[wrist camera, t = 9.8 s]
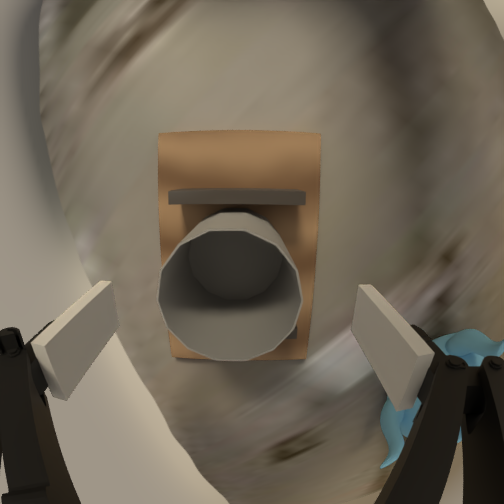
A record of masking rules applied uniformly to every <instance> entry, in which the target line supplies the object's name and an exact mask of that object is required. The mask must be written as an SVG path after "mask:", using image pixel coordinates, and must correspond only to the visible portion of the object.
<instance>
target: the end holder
mask: <svg viewBox="0 0 504 504" xmlns="http://www.w3.org/2000/svg"><path fill="white" fill-rule="evenodd" d="M320 149H321V134H318V133H305V132H288V131H261V130H216V131H188V132H171V133H159V141H158V197H159V227H160V246H161V261H162V266H163V265H164V263H165V262H166V260H167V259H168V258H169V256H170V255H171V253H172V252H173V251H174V249H175V248H176V246H177V245H178V244H179V243H180V242H181V241H182V240H183V239H184V238H185V237H186V236H187V235H188V234H189V233H190V232H191V231H192V230H193V229H194V228H195V227H196V226H197V225H198V224H199V223H200V222H201V221H202V220H203V219H204V218H205V217H207V216H209V215H211V214H213V213H215V212H217V211H219V210H221V209H223V208H248V209H250V210H252V211H254V212H256V213H258V214H260V215H262V216H264V217H266V218H267V219H268V220H269V222H270V223H271V224H272V226H273V227H274V228H275V229H276V231H277V232H278V233H279V235H280V236H281V238H282V240H283V242H284V244H285V246H286V248H287V250H288V252H289V254H290V256H291V258H292V260H293V262H294V263H295V265H296V267H297V269H298V273H299V279H300V284H301V290H302V295H303V304H302V307H301V310H300V313H299V316H298V319H297V322H296V326H295V329H294V330H293V331H292V332H291V333H290V334H289V335H288V336H287V337H286V338H285V339H284V340H283V341H282V342H281V343H280V344H279V345H278V346H277V347H276V348H275V349H274V350H273V351H270V352H268V353H265V354H263V355H260V356H258V357H255V358H253V359H250V360H292V359H306V355H307V347H308V338H309V330H310V320H311V311H312V300H313V290H314V278H315V265H316V251H317V235H318V217H319V193H320ZM168 332H169V339H170V347H171V354H172V357H178V358H194V359H210V358H208V357H205V356H203V355H200V354H198V353H196V352H193V351H191V350H189V349H187V348H186V347H185V346H184V345H183V344H182V343H181V342H180V341H179V340H178V339H177V338H176V337H175V336H174V335H173V334H172V333H171V332H170V331H169V330H168Z"/></svg>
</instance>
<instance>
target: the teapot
mask: <svg viewBox="0 0 504 504" xmlns="http://www.w3.org/2000/svg"><path fill="white" fill-rule="evenodd" d="M432 342H434V343H435V344H436V345H437V346H438V347H439V348H440V349H441V350H442V351H443V352H444V353H445V355H455V356H458V357H461V358H462V359H464V360H465V361H466V362H467V364H468V366H480V365H481V363H482V361H483V359H484V357H486V356H498V357H499V356H500V355H501V354H502V353H503V352H504V339H503V340H502V341H500V342H495V341H492V340H491V339H489V338H488V337H487V336H486V335H484V334H483V333H482V332H480V331H478V330H476V329H465V330H462V331H459V332H457V333H452V334H447V335H444V336H441V337H438V338H436V339H434V340H432ZM420 405H421V402H420V400H419V399H418V397H417V399H416V401H415V403H414V406H413V408H410V409H406V410H401V411H397V412H396V410H395V408H394V406H393V404H392V402H391V400H390V399H389V397H388V396H387V401H386V403H385V404H384V406H383V409H382V411H381V417H380V424H381V429H382V431H383V434H384V436H385V438H386V440H387V442H388V445H389V453H388V456H387V458H386V459H385V461H384V462H383V463H382V465H381V466H380V469H381V468H384V467H386V466H388V465H390V464H391V463H393V462H394V461H396V460H397V459H398V458H399V455H400V453H401V451H402V449H403V447H404V439H403V435H404V436H406V437H408V435H409V433H410V430H411V428H412V425H413V423H414V422H412V421H413V419H414V417H415V415H416V413H417V411H418V409H419V407H420ZM402 434H403V435H402ZM460 441H462V435H461V427H460V432H459V437H458V441H457V443H458V442H460Z"/></svg>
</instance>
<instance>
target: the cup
mask: <svg viewBox="0 0 504 504" xmlns="http://www.w3.org/2000/svg"><path fill="white" fill-rule="evenodd" d="M156 301H157V304H158V306H159V309H160V312H161V315H162V317H163V320H164V323H165V325H166V328H167V329H168V330H169V331H170V332H171V333H172V334H173V335H174V336H175V337H176V338H177V339H178V340H179V341H180V342H181V343H182V344H183V345H184V346H185V347H186V348H187V349H189V350H191V351H193V352H196V353H198V354H200V355H203V356H205V357H208V358H210V359H213V360H215V361H247V360H250V359H253V358H255V357H258V356H260V355H263V354H265V353H268V352H270V351H273V350H274V349H275V348H276V347H277V346H278V345H279V344H280V343H281V342H282V341H283V340H284V339H285V338H286V337H287V336H288V335H289V334H290V333H291V332H292V331H293V330H294V329H295V326H296V322H297V319H298V316H299V313H300V310H301V307H302V304H303V295H302V290H301V284H300V279H299V273H298V269H297V267H296V265H295V263H294V262H293V260H292V258H291V256H290V254H289V252H288V250H287V248H286V246H285V244H284V242H283V240H282V238H281V236H280V235H279V233H278V232H277V231H276V229H275V228H274V227H273V226H272V224H271V223H270V222H269V220H268V219H267V218H266V217H264V216H262V215H260V214H258V213H256V212H254V211H252V210H250V209H248V208H223V209H221V210H219V211H217V212H215V213H213V214H211V215H209V216H207V217H205V218H204V219H203V220H202V221H201V222H200V223H199V224H198V225H197V226H196V227H195V228H194V229H193V230H192V231H191V232H190V233H189V234H188V235H187V236H186V237H185V238H184V239H183V240H182V241H181V242H180V243H179V244H178V245H177V246H176V248H175V249H174V251H173V252H172V253H171V255H170V256H169V258H168V259H167V260H166V262H165V263H164V265H163V266H162V268H161V269H160V272H159V280H158V288H157V297H156Z"/></svg>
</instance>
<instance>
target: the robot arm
mask: <svg viewBox="0 0 504 504" xmlns="http://www.w3.org/2000/svg"><path fill="white" fill-rule="evenodd" d="M119 326H120V325H119V320H118V314H117V309H116V303H115V298H114V292H113V285H112V281H99V282H98V283H97V284H96V285H95V286H93V287H92V288H91V289H90V290H89V291H88V292H86V293H85V294H84V295H83V296H82V297H81V298H79V299H78V300H77V301H76V302H75V303H74V304H72V305H71V306H70V307H69V308H68V309H67V310H66V311H65V312H63V313H62V314H61V315H60V316H59V317H58V318H57V319H55V320H53V321H51V322H49V323H48V324H47V325H46V326H45V327H44V328H43V330H40V331H39V332H38V334H36V335H35V336H34V337H33V338H32V339H31V340H30V341H28V342H27V343H26V344H25V345H24V342H23V339H22V336H21V333H20V330H19V329H17V328H14V327H10V328H5V329H2V330H1V331H0V467H1V457H2V453H3V460H4V467H5V473H6V478H7V484H8V489H9V492H8V493H5V494H2V497H1V499H2V504H81V502H80V500H79V497H78V495H77V493H76V490H75V488H74V486H73V483H72V480H71V478H70V475H69V473H68V470H67V467H66V464H65V461H64V458H63V456H62V453H61V449H60V446H59V443H58V439H57V436H56V432H55V429H54V425H53V421H52V417H51V413H50V409H49V404H48V400H47V397H46V395H45V392H44V391H45V390H46V389H47V387H49V389H50V391H51V394H52V396H53V397H55V398H58V399H62V400H65V401H67V400H68V398H69V397H70V395H71V394H72V392H73V391H74V389H75V388H76V386H77V385H78V383H79V382H80V380H81V379H82V377H83V376H84V375H85V373H86V372H87V370H88V369H89V367H90V366H91V365H92V363H93V362H94V360H95V359H96V358H97V356H98V355H99V353H100V352H101V350H102V349H103V348H104V347H105V345H106V344H107V342H108V341H109V340H110V338H111V337H112V336H113V334H114V333H115V332H116V330H117V329H118V328H119ZM351 331H352V333H353V334H354V336H355V338H356V340H357V341H358V343H359V345H360V347H361V348H362V350H363V352H364V354H365V355H366V357H367V359H368V361H369V362H370V364H371V366H372V368H373V369H374V371H375V373H376V375H377V377H378V378H379V380H380V382H381V384H382V386H383V388H384V389H385V391H386V393H387V395H388V397H389V399H390V400H391V402H392V404H393V406H394V408H395V410H396V412H397V411H401V410H406V409H410V408H413V406H414V403H415V401H416V399H417V397H418V399H419V400H420V402H421V405H420V407H419V409H418V411H417V413H416V415H415V417H414V419H413V421H412V422H414V423H413V425H412V428H411V430H410V433H409V435H408V437H407V440H406V442H405V444H404V447H403V449H402V451H401V453H400V455H399V458H398V460H397V462H396V464H395V466H394V468H393V470H392V472H391V474H390V476H389V478H388V480H387V482H386V483H385V485H384V487H383V489H382V491H381V493H380V495H379V496H378V498H377V500H376V501H375V503H374V504H439V502H440V499H441V496H442V494H443V491H444V488H445V485H446V482H447V478H448V475H449V472H450V468H451V465H452V461H453V458H454V453H455V450H456V446H457V441H458V437H459V432H460V427H461V435H462V449H463V481H464V482H463V504H504V360H503V359H502V358H500V357H498V356H486V357H484V359H483V361H482V363H481V365H480V366H468V364H467V362H466V361H465V360H464V359H462V358H461V357H458V356H455V355H445V353H444V352H443V351H442V350H441V349H440V348H439V347H438V346H437V345H436V344H435V343H434V342H432V339H431V338H430V337H428V335H427V334H426V333H425V332H424V331H423V330H422V329H421V328H419V327H417V326H415V325H409V324H408V323H407V322H406V320H405V319H404V318H403V317H402V316H401V315H400V314H399V313H398V312H397V311H396V310H395V309H394V308H393V307H392V305H391V304H390V303H389V302H388V301H387V300H386V299H385V298H384V297H383V296H382V295H381V294H380V293H379V292H378V291H377V290H376V289H375V288H374V287H373V286H372V285H371V284H369V285H358V290H357V297H356V303H355V310H354V315H353V321H352V327H351Z"/></svg>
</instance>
